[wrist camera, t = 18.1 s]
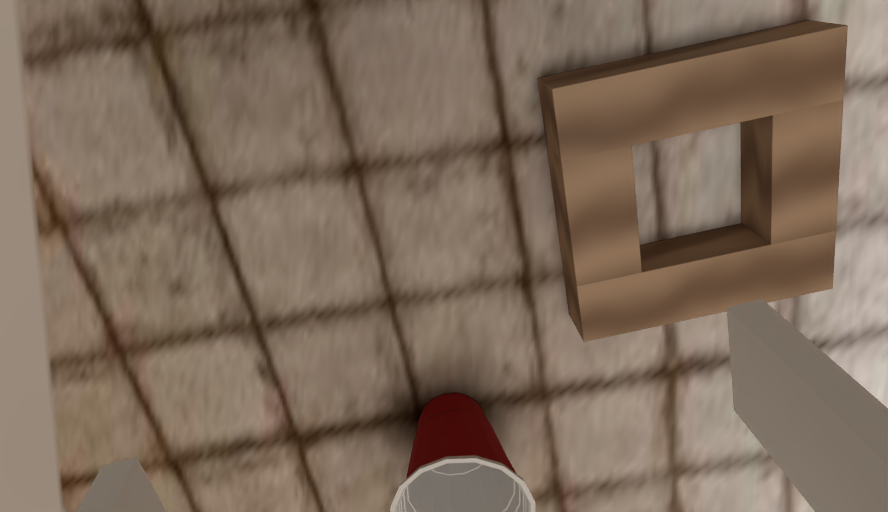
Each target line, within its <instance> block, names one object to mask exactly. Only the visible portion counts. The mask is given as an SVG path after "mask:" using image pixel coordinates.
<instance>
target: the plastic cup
mask: <svg viewBox="0 0 888 512" xmlns="http://www.w3.org/2000/svg"><path fill="white" fill-rule="evenodd" d="M390 510H391V512H535V501H534V499H533V497H532V495H531V493H530V491H529V490H528V488H527V486H526V484H525V482H524V480H523V479H522V478H521V477H520V476H519V475H517V474H516V472H515V470H514V468H513V467H512V465H511V463H510V461H509V460H508V458H507V456H506V454H505V452H504V450H503V448H502V446H501V444H500V442H499V440H498V438H497V436H496V434H495V432H494V430H493V428H492V426H491V424H490V423H489V421H488V420H487V418H486V416H485V414H484V412H483V410H482V409H481V407H480V405H478V403H477V402H476V401H475V400H473V399H472V398H470V397H469V396H467V395H463V394H459V393H448V394H442V395H440V396H438V397H436V398H433V399H432V400H431V401H430V402H429V403H428V404H427V405H426V406H425V407H424V409H423V411H422V413H421V416H420V418H419V420H418V426H417V432H416V437H415V439H414V443H413V448H412V453H411V458H410V463H409V468H408V473H407V478H406V480H404V481H403V482H402V483H401V485H400V487H399V489H398V491H397V494H396V496H395V498H394V500H393V503H392V505H391V507H390Z"/></svg>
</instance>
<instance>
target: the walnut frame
mask: <svg viewBox="0 0 888 512" xmlns="http://www.w3.org/2000/svg"><path fill="white" fill-rule="evenodd" d="M847 27H848V25H841V24H833V23H826V22H818V21H810V20H806V21H801V22H797V23H792V24H787V25H783V26H778V27H774V28H769V29H764V30H760V31H755V32H750V33H746V34H741V35H736V36H732V37H727V38H723V39H718V40H713V41H709V42H704V43H699V44H695V45H690V46H685V47H681V48H676V49H671V50H667V51H662V52H658V53H653V54H648V55H644V56H639V57H634V58H630V59H625V60H620V61H616V62H611V63H606V64H602V65H597V66H593V67H588V68H583V69H579V70H574V71H569V72H565V73H560V74H555V75H551V76H546V77H542V78H538V85H539V92H540V100H541V107H542V115H543V122H544V130H545V137H546V145H547V152H548V160H549V167H550V175H551V182H552V190H553V197H554V205H555V212H556V220H557V227H558V234H559V242H560V249H561V257H562V264H563V272H564V279H565V287H566V294H567V302H568V309H569V315H570V317H571V319H572V321H573V322H574V324H575V326H576V328H577V330H578V332H579V334H580V335H581V337H582V339H583V341H584V342H586V341H591V340H595V339H600V338H605V337H609V336H614V335H619V334H623V333H628V332H632V331H637V330H642V329H646V328H651V327H656V326H660V325H665V324H670V323H674V322H679V321H684V320H688V319H693V318H698V317H702V316H707V315H712V314H716V313H721V312H725V311H727V308H728V307H732V306H736V305H740V304H744V303H748V302H752V301H756V300H760V299H763V300H764V301H765V302H766V303H767V302H772V301H777V300H781V299H786V298H791V297H795V296H800V295H804V294H809V293H814V292H818V291H823V290H828V289H832V288H833V273H834V255H835V238H836V220H837V203H838V185H839V168H840V150H841V133H842V115H843V97H844V80H845V62H846V45H847ZM739 122H741V210H742V223H741V224H737V225H732V226H727V227H723V228H718V229H713V230H709V231H704V232H700V233H695V234H690V235H686V236H681V237H676V238H672V239H667V240H662V241H658V242H653V243H648V244H644V245H640V244H639V232H638V219H637V206H636V193H635V181H634V168H633V155H632V145H637V144H641V143H646V142H651V141H655V140H660V139H665V138H669V137H674V136H679V135H683V134H688V133H693V132H697V131H702V130H706V129H711V128H716V127H720V126H725V125H730V124H734V123H739Z"/></svg>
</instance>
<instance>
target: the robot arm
mask: <svg viewBox="0 0 888 512" xmlns="http://www.w3.org/2000/svg"><path fill="white" fill-rule="evenodd" d="M727 317H728V331H729V345H730V359H731V374H732V388H733V402H734V410H735V412H736V413H737V414H738V415H739V417H740V418H741V419H742V420H743V422H744V423H745V424H746V425H747V427H748V428H749V429H750V430H751V432H752V433H753V434H754V435H755V437H756V438H757V439H758V440H759V442H760V443H761V444H762V445H763V447H764V448H765V449H766V450H767V452H768V453H769V454H770V455H771V457H772V458H773V459H774V460H775V462H776V463H777V464H778V465H779V467H780V468H781V469H782V470H783V472H784V473H785V474H786V476H787V477H788V478H789V479H790V481H791V482H792V483H793V484H794V486H795V487H796V488H797V489H798V491H799V492H800V493H801V494H802V496H803V497H804V498H805V499H806V501H807V502H808V503H809V504H810V506H811V507H812V508H813V509H814V511H815V512H888V408H887V407H885V406H884V405H883V404H882V403H881V402H880V401H878V400H877V399H876V398H875V397H874V396H873V395H872V394H870V393H869V392H868V391H867V390H866V389H865V388H864V387H862V386H861V385H860V384H859V383H858V382H857V381H856V380H854V379H853V378H852V377H851V376H850V375H849V374H847V373H846V372H845V371H844V370H843V369H842V368H841V367H839V366H838V365H837V364H836V363H835V362H834V361H833V360H831V359H830V358H829V357H828V356H827V355H826V354H825V353H823V352H822V351H821V350H820V349H819V348H818V347H817V346H815V345H814V344H813V343H812V342H811V341H810V340H808V339H807V338H806V337H805V336H804V335H803V334H802V333H800V332H799V331H798V330H797V329H796V328H795V327H794V326H792V325H791V324H790V323H789V322H788V321H787V320H786V319H784V318H783V317H782V316H781V315H780V314H779V313H777V312H776V311H775V310H774V309H773V308H772V307H771V306H769V305H768V304H767V303H766V302H765V301H764V300H763V299H760V300H756V301H752V302H748V303H744V304H740V305H736V306H732V307H728V308H727ZM77 512H167V511H166V510H165V508H164V506H163V504H162V502H161V501H160V499H159V497H158V495H157V493H156V492H155V490H154V488H153V486H152V484H151V483H150V481H149V479H148V477H147V475H146V474H145V472H144V470H143V468H142V466H141V465H140V463H139V461H138V459H137V457H135V458H132V459H128V460H124V461H120V462H116V463H112V464H108V465H104V466H102V468H101V469H100V471H99V473H98V475H97V477H96V478H95V480H94V482H93V484H92V485H91V487H90V489H89V491H88V493H87V494H86V496H85V498H84V500H83V501H82V503H81V505H80V507H79V509H78V510H77Z"/></svg>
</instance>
